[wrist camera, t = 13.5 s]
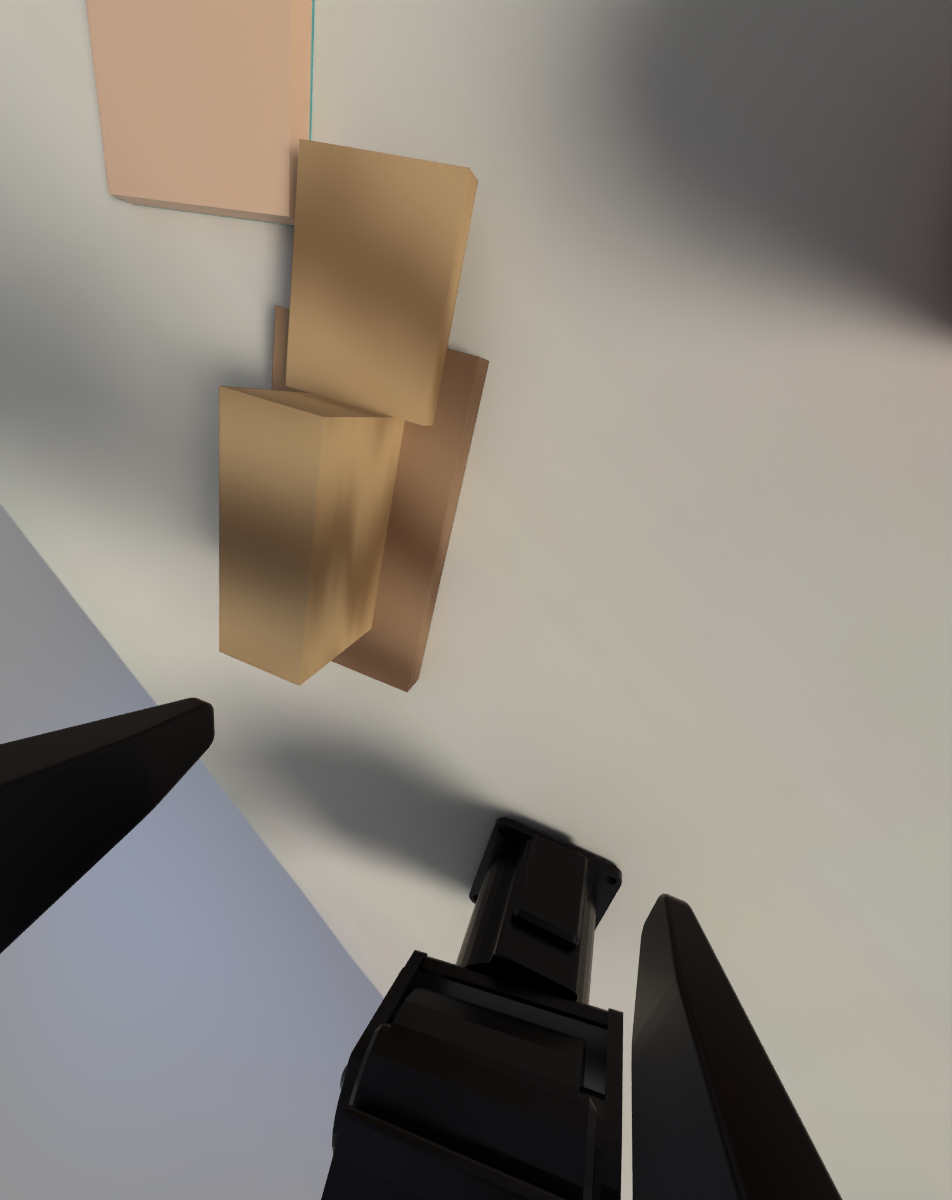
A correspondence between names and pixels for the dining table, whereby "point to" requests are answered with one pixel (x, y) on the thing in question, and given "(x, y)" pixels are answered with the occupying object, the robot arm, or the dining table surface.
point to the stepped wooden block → (337, 404)
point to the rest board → (412, 518)
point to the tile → (204, 102)
